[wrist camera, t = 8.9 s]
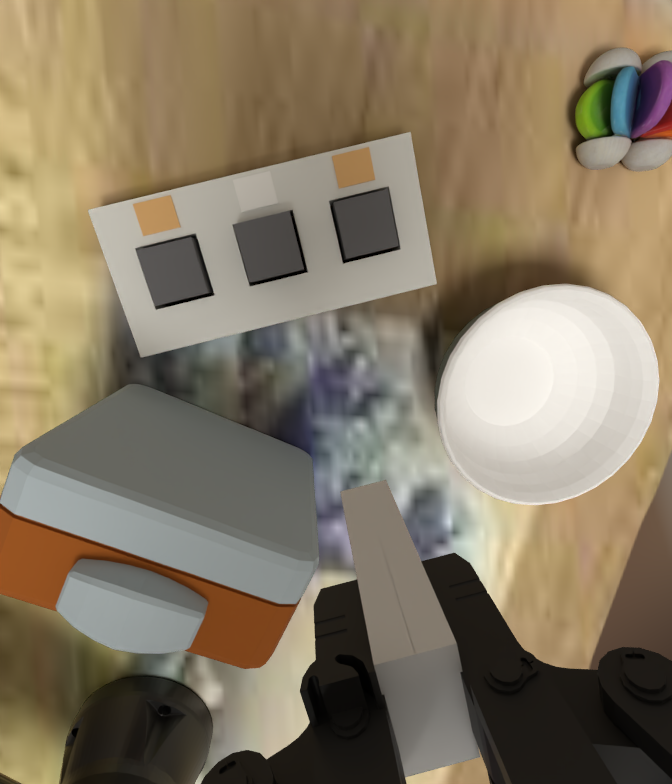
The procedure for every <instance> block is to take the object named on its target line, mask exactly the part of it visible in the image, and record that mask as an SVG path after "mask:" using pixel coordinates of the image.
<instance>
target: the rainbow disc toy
mask: <svg viewBox="0 0 672 784" xmlns="http://www.w3.org/2000/svg"><path fill="white" fill-rule="evenodd" d="M584 85H585V86H586V87H588V89H587V90H586V91H585V92H584V93H583V95H582V96H581V98H580V99H579V101H578V104H577V106H576V110H575V121H576V126H577V128H578V130H579V132H580V133H581V135H582V136H583V137H584V138H585V139H586V140H588V141H586V142H583V143H581V144H580V145H578V146H577V148H576V154H577V158H578V160H579V162H580V163H581V164H582V165H583V166H584V167H586V168H588V169H592V170H598V169H605V168H609V167H612V166H614V165H615V164H617V163H618V162H619V161H620V160H621V161H622V163H623V165H624V166H625V167H626V168H628V169H629V170H632V171H648V170H653V169H656V168H658V167H659V166H661V165H663V164H664V163H665V162H666V161H667V160H668V159H669V158H670V157H671V156H672V51H666V52H662V53H659V54H656V55H654V56H653V57H651V58H650V59H648V60H647V61H646V62H645V63H644V64H643V65H642V64H641V60H640V58H639V56H638V55H637V54H636V52H634V51H633V50H631V49H628V48H615V49H612V50H609V51H607V52H605V53H603V54H602V55H601V56H599V57H598V58H597V59H596V60H595V61H594V62H593V63H592V65H591V66H590V68H589V69H588V71H587V73H586V76H585V79H584ZM631 142H632V143H631Z"/></svg>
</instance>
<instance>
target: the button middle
mask: <svg viewBox="0 0 672 784" xmlns="http://www.w3.org/2000/svg"><path fill="white" fill-rule="evenodd" d="M233 225H234V229H235V232H236V236H237V239H238V243H239V246H240V250H241V253H242V257H243V261H244V264H245V268H246V271H247V275H248V278H249V282H257V281H261V280H265V279H269V278H273V277H277V276H281V275H285V274H289V273H293V272H297V271H301V270H304V267H303V263H302V259H301V255H300V251H299V247H298V243H297V239H296V235H295V231H294V227H293V223H292V219H291V215H290V211H285V212H281V213H277V214H273V215H269V216H265V217H261V218H257V219H253V220H248V221H244V222H240V223H236V224H233Z"/></svg>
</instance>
